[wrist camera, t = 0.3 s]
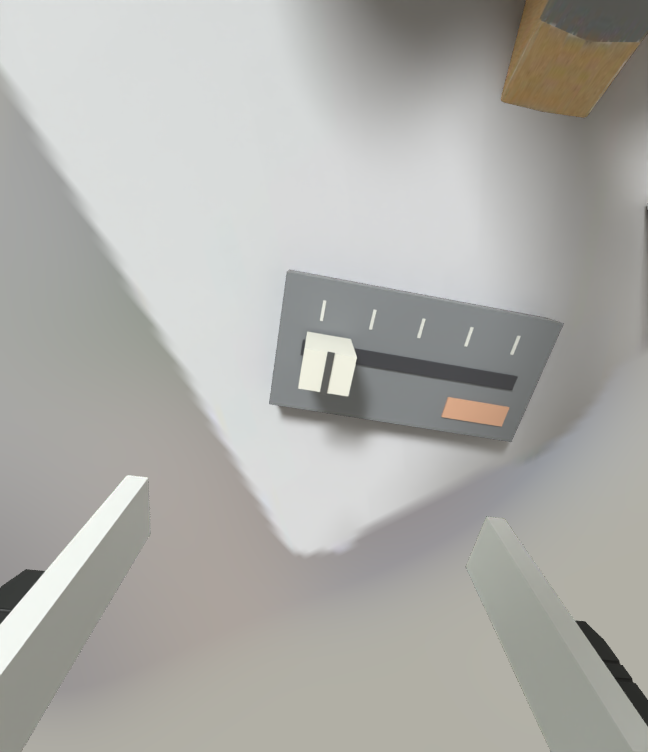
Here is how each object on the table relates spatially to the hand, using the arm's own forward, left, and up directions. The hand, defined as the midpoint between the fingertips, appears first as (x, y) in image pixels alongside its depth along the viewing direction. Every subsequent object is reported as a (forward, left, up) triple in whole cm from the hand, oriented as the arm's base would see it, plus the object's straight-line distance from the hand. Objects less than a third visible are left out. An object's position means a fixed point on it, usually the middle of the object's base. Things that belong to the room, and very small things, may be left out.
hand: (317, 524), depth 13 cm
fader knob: (0, +1, -22) cm, 22 cm away
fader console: (0, +10, -26) cm, 27 cm away
